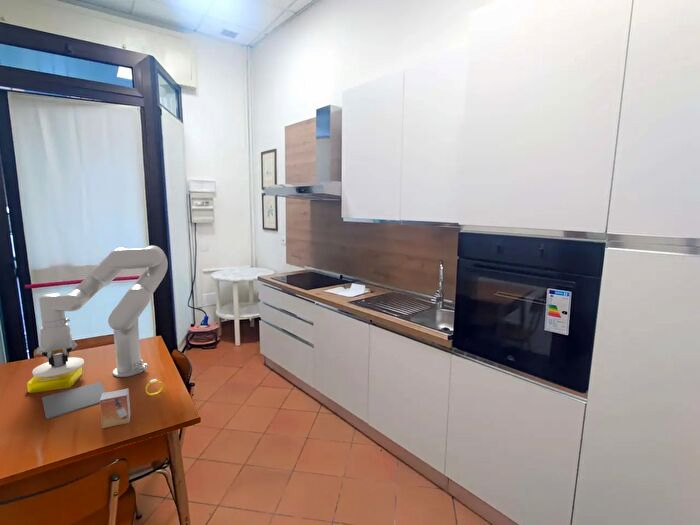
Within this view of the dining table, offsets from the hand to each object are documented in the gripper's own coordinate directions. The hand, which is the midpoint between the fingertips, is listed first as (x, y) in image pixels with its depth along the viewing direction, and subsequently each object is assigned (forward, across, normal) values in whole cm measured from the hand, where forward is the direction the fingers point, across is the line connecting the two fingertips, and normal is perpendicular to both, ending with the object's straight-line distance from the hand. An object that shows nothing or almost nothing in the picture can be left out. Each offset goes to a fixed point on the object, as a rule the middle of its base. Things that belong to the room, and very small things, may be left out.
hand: (58, 364), depth 150 cm
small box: (+8, -18, +47) cm, 51 cm away
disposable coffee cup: (+8, +1, -24) cm, 25 cm away
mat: (+8, -6, +21) cm, 23 cm away
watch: (+8, -31, +34) cm, 47 cm away
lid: (+2, 0, 0) cm, 2 cm away
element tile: (+9, +2, -1) cm, 9 cm away
